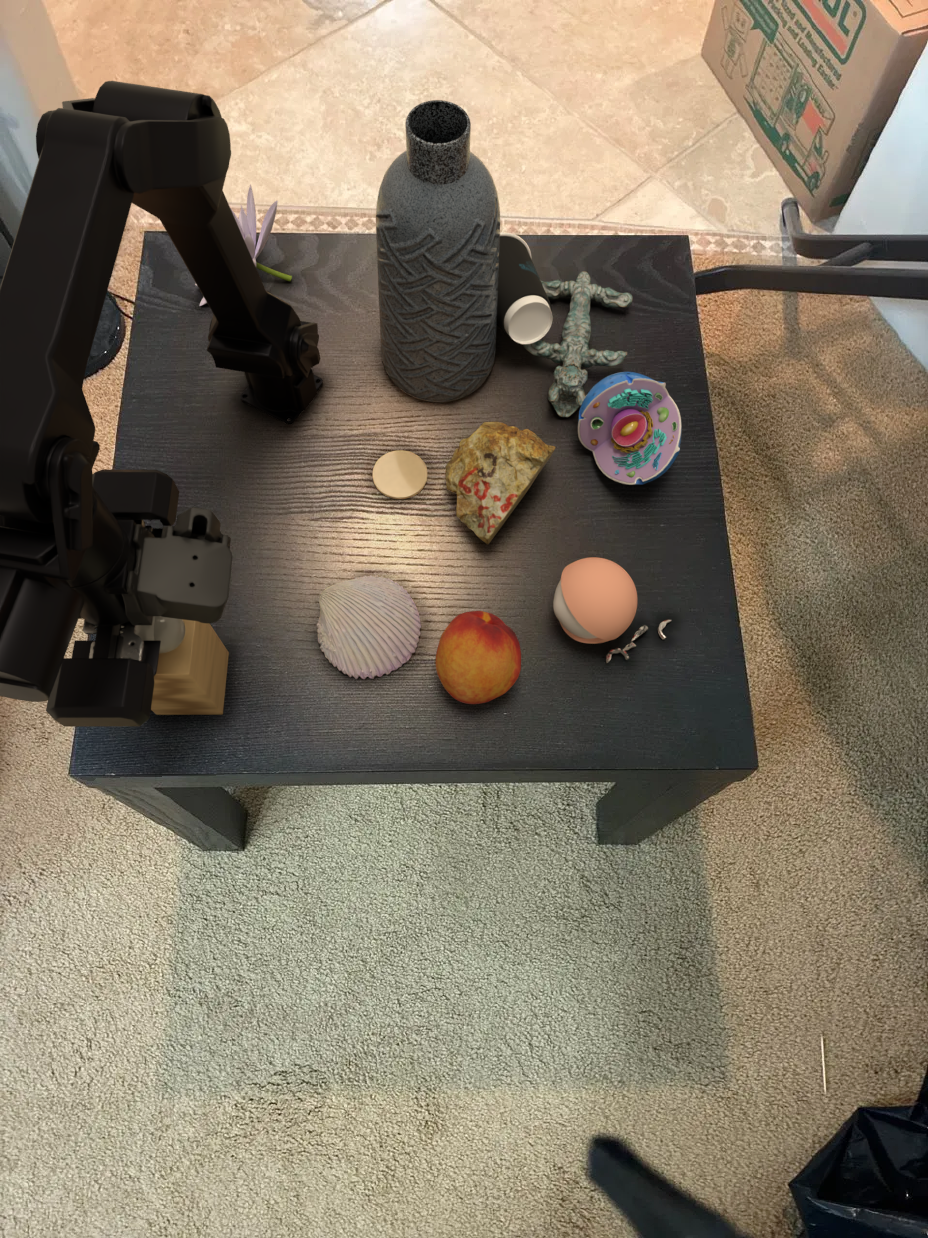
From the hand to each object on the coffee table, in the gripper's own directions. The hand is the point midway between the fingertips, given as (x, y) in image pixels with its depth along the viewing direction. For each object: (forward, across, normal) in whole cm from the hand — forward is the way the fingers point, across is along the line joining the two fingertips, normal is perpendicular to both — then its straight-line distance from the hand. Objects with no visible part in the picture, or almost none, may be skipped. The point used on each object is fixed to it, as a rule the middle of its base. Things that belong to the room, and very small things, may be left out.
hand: (153, 636), depth 69 cm
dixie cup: (+5, +36, -32) cm, 48 cm away
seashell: (+12, +6, -16) cm, 21 cm away
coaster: (+12, +22, -19) cm, 31 cm away
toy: (+12, +3, -42) cm, 44 cm away
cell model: (+11, +24, -45) cm, 52 cm away
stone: (+1, 0, 0) cm, 1 cm away
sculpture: (+12, +38, -37) cm, 55 cm away
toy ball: (+12, +7, -37) cm, 39 cm away
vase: (+12, +37, -22) cm, 45 cm away
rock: (+12, +20, -27) cm, 36 cm away
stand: (+12, 0, 0) cm, 12 cm away
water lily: (+12, +47, -6) cm, 49 cm away
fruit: (+12, +1, -26) cm, 29 cm away
